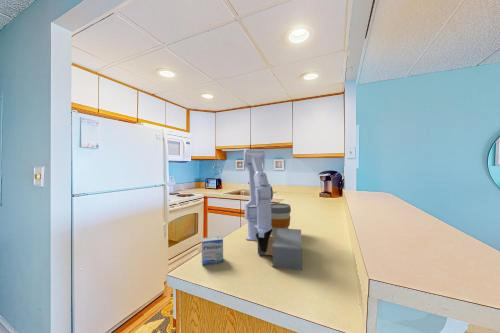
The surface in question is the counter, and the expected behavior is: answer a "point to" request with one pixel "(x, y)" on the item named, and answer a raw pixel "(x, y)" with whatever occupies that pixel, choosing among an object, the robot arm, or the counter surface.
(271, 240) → the grey and tan block
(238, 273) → the counter surface
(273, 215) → the reusable coffee cup
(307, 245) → the counter surface
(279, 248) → the block
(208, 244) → the medicine box
